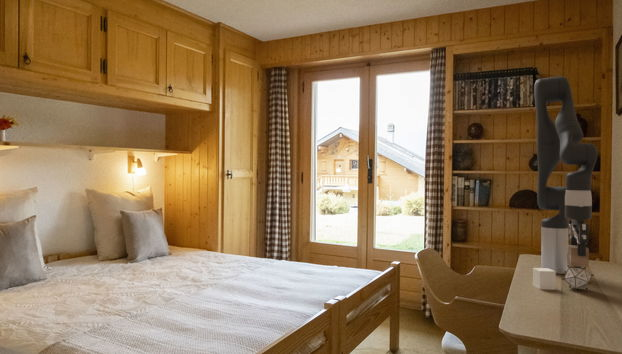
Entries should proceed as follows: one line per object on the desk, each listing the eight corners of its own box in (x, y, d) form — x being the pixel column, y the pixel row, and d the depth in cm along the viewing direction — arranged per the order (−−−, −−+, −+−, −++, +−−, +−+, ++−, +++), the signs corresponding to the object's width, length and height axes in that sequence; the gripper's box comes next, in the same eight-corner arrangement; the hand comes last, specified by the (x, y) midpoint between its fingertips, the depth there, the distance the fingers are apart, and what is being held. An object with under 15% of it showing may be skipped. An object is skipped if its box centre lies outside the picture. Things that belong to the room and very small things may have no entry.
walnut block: (566, 263, 145) (567, 245, 145) (584, 264, 143) (584, 246, 143) (570, 265, 140) (571, 247, 140) (588, 267, 139) (588, 248, 139)
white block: (532, 285, 146) (532, 267, 146) (548, 286, 146) (548, 268, 146) (539, 289, 141) (539, 271, 141) (555, 289, 141) (555, 271, 141)
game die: (584, 302, 140) (602, 281, 134) (557, 291, 142) (574, 270, 136) (580, 283, 147) (597, 263, 142) (554, 273, 149) (570, 252, 143)
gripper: (560, 202, 150) (559, 249, 150) (570, 205, 136) (570, 256, 136) (584, 203, 147) (584, 251, 147) (598, 205, 134) (598, 258, 134)
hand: (577, 253), depth 142 cm, fingers open, 8 cm apart
